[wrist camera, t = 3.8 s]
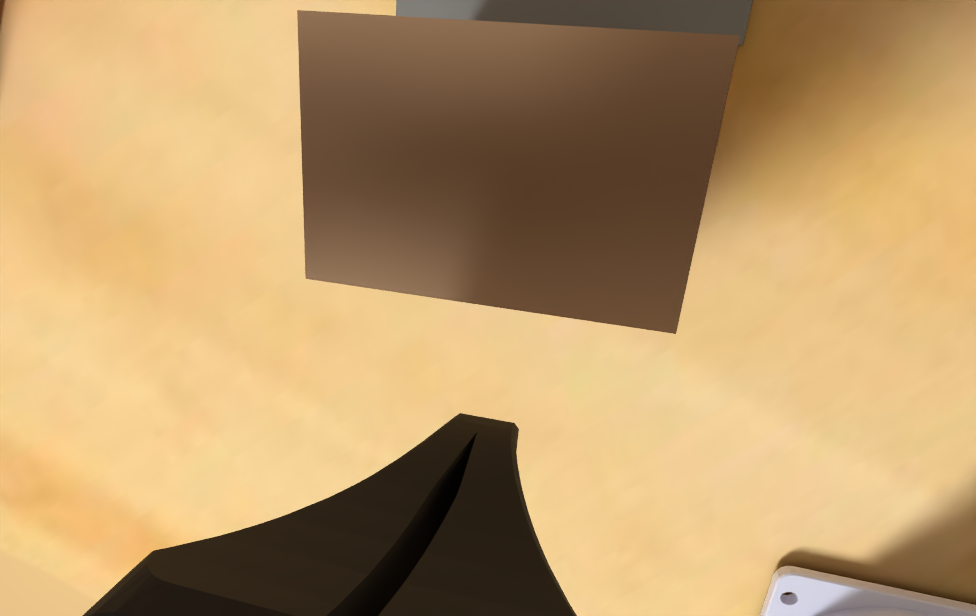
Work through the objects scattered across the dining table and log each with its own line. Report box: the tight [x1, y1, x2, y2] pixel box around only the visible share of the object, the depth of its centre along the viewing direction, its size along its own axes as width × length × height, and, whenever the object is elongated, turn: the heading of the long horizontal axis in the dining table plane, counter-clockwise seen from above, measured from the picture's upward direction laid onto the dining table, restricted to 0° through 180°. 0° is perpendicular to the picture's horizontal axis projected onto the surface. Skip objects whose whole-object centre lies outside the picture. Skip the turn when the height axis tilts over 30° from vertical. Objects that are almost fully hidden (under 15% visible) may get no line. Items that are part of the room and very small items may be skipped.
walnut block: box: [297, 10, 740, 334], centre depth 12 cm, size 4×6×8 cm, turn 85°
